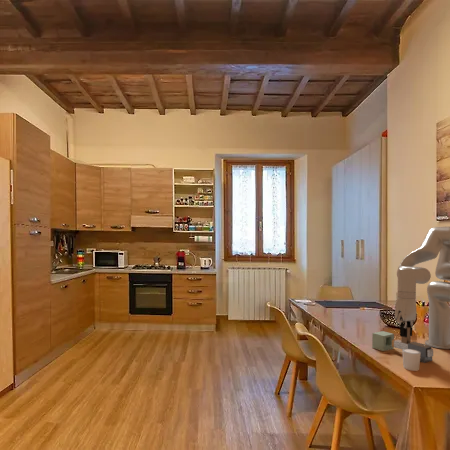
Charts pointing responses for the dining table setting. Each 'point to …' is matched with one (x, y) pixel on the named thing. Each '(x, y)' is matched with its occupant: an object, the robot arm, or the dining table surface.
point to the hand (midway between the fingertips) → (406, 335)
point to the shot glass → (411, 359)
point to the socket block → (382, 340)
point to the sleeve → (420, 348)
